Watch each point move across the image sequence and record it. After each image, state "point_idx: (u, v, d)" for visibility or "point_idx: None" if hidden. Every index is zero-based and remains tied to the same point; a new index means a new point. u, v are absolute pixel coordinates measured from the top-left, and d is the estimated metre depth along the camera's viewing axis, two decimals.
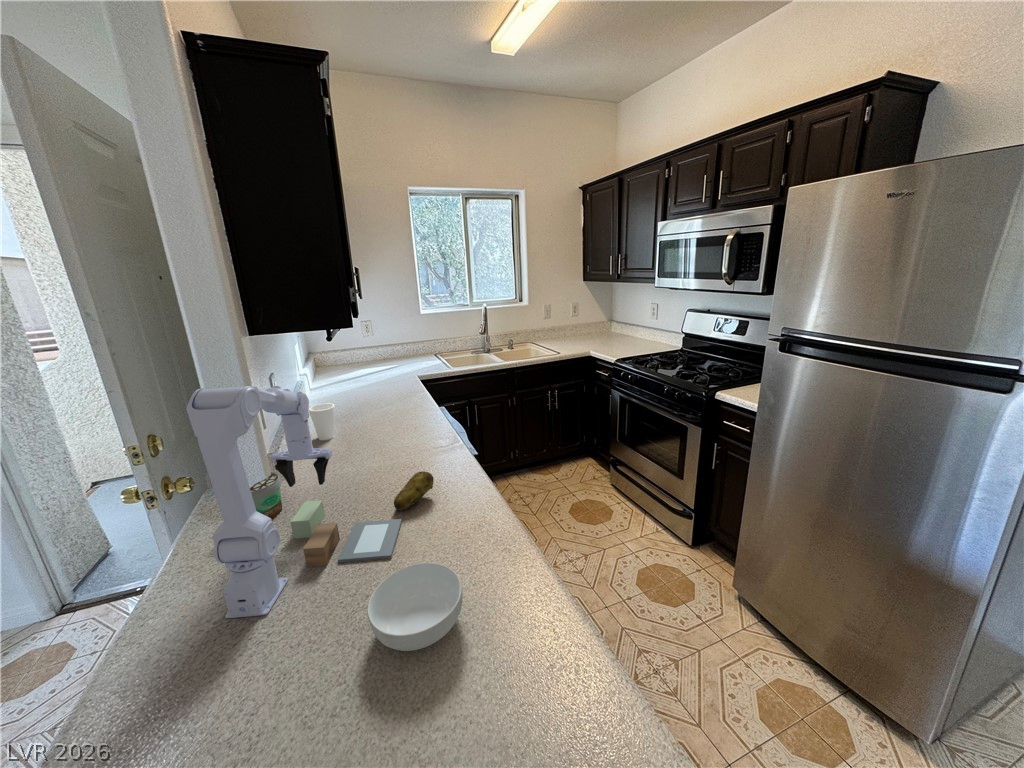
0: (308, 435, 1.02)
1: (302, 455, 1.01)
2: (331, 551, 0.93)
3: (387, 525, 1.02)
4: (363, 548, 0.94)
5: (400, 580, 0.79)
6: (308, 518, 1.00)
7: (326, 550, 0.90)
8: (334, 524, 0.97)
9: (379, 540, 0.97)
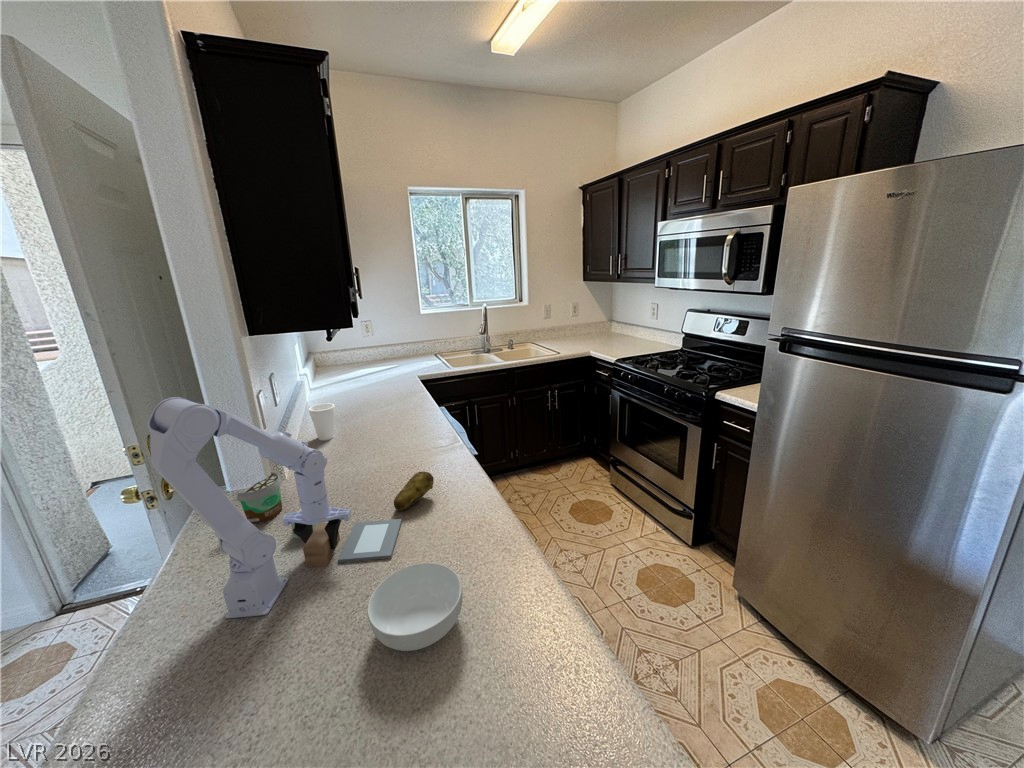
0: (319, 499, 0.88)
1: (318, 518, 0.89)
2: (331, 550, 0.93)
3: (387, 525, 1.02)
4: (363, 548, 0.94)
5: (400, 580, 0.79)
6: None
7: (325, 549, 0.90)
8: None
9: (379, 540, 0.97)
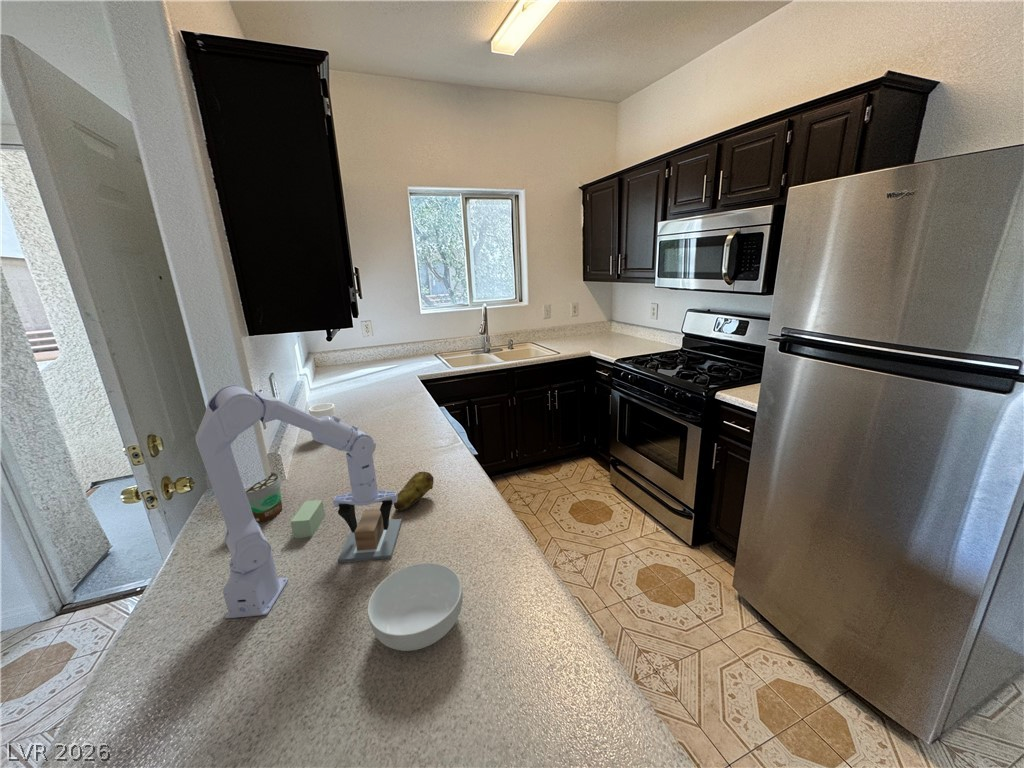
0: (366, 482, 0.91)
1: (368, 500, 0.92)
2: (379, 535, 0.97)
3: None
4: None
5: (400, 580, 0.79)
6: (309, 518, 1.00)
7: (375, 534, 0.94)
8: None
9: None
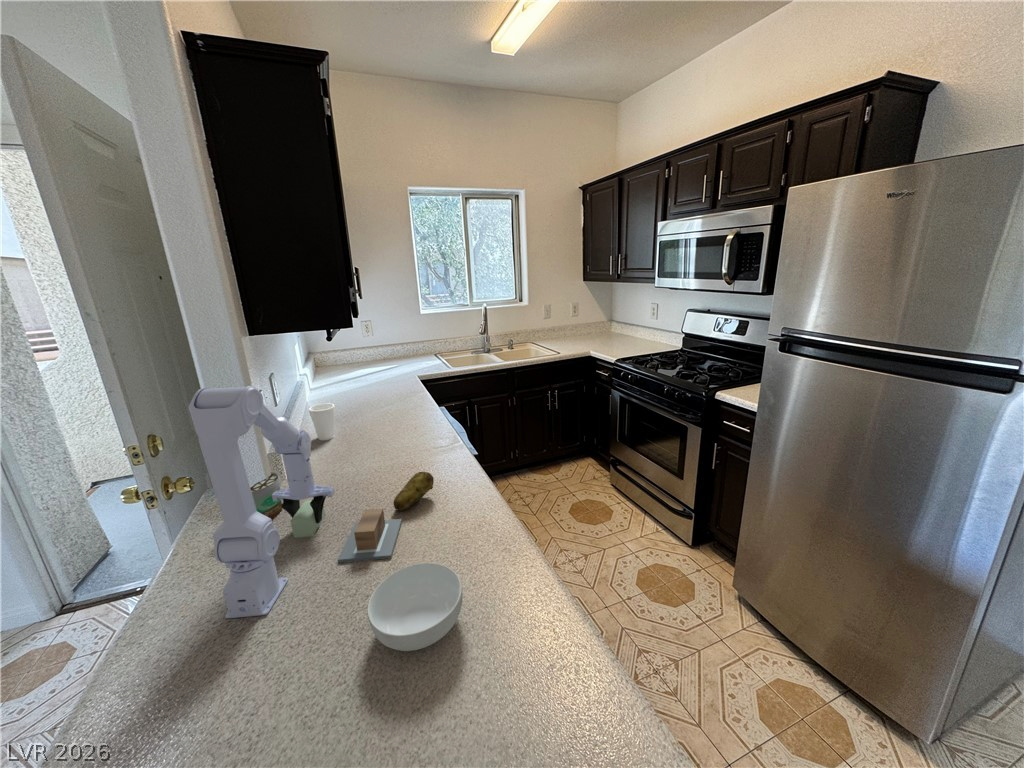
0: (310, 474, 1.00)
1: (304, 494, 0.99)
2: (379, 535, 0.97)
3: (387, 525, 1.02)
4: None
5: (400, 580, 0.79)
6: (308, 517, 1.00)
7: (375, 534, 0.94)
8: (380, 510, 1.00)
9: None
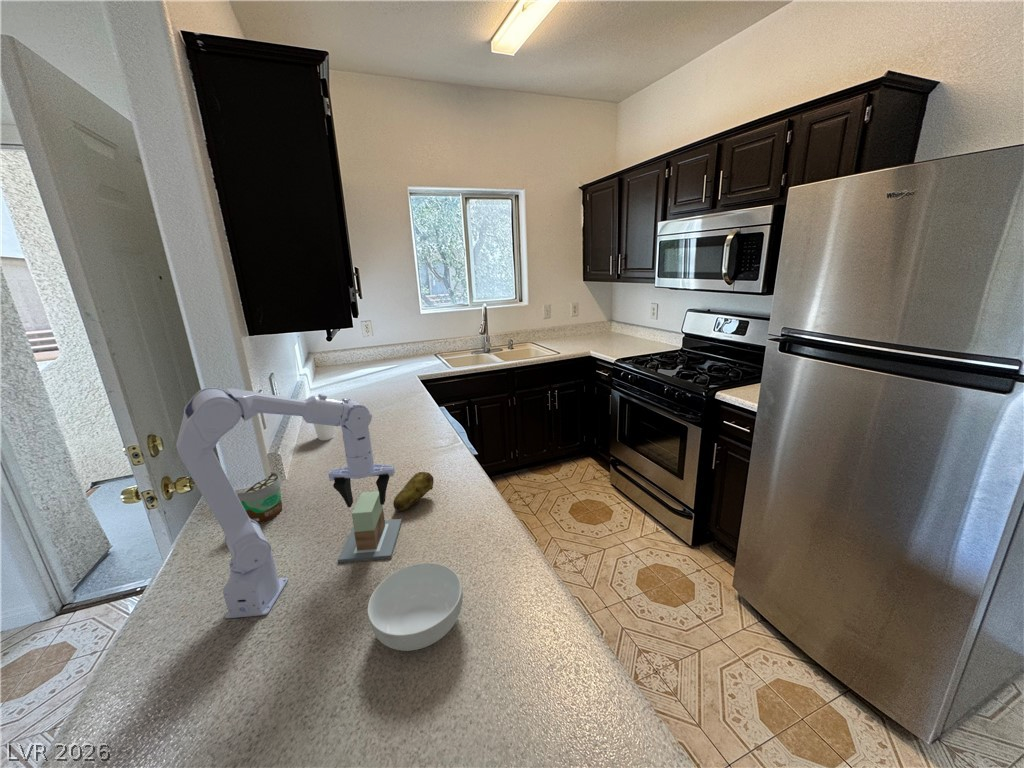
0: (361, 454, 0.89)
1: (364, 473, 0.90)
2: (379, 535, 0.97)
3: (387, 525, 1.02)
4: None
5: (400, 580, 0.79)
6: (371, 510, 0.92)
7: (375, 534, 0.94)
8: None
9: None
